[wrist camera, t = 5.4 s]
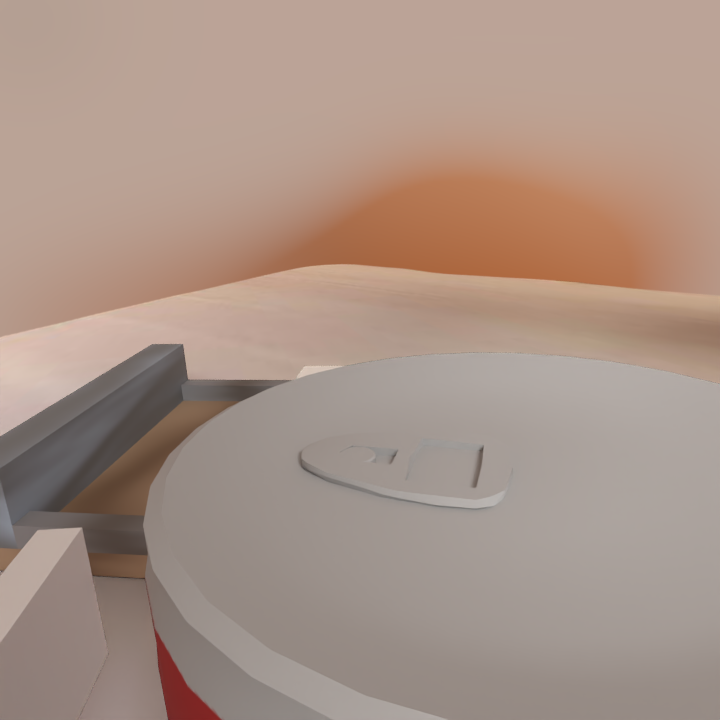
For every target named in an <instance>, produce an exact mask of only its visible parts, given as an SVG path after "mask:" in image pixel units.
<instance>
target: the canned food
mask: <svg viewBox="0 0 720 720" xmlns="http://www.w3.org/2000/svg"><path fill="white" fill-rule="evenodd" d="M143 528H144V534H145V539H146V545H147V551H148V556H147V564H146V571H145V581H146V587H147V592H148V598H149V603H150V609H151V614H152V620H153V626H154V631H155V637H156V642H157V654H158V667H159V673H160V678H161V683H162V689H163V694H164V699H165V705H166V710H167V715H168V720H720V384H718V383H714V382H710V381H706V380H702V379H697V378H693V377H689V376H685V375H681V374H676V373H672V372H668V371H663V370H658V369H652V368H646V367H641V366H635V365H629V364H623V363H618V362H611V361H603V360H594V359H586V358H577V357H569V356H556V355H541V354H526V353H475V352H473V353H450V354H428V355H418V356H409V357H399V358H389V359H383V360H377V361H371V362H365V363H359V364H353V365H347V366H343V367H339V368H335V369H330V370H326V371H322V372H318V373H314V374H310V375H307V376H304V377H301V378H298V379H295V380H292V381H289V382H286V383H283V384H280V385H277V386H274V387H271V388H269V389H267V390H265V391H262V392H260V393H258V394H256V395H254V396H252V397H250V398H247V399H245V400H243V401H241V402H239V403H237V404H235V405H232V406H230V407H228V408H227V409H225V410H224V411H222V412H220V413H219V414H217V415H216V416H214V417H213V418H211V419H210V420H208V421H207V422H205V423H204V424H202V425H201V426H199V427H198V428H196V429H195V430H194V431H193V432H192V433H191V434H190V435H189V436H188V437H187V438H186V439H185V440H184V441H183V442H182V443H181V444H180V445H179V446H177V447H176V448H175V449H174V450H173V451H172V452H171V453H170V454H169V456H168V457H167V459H166V461H165V462H164V464H163V466H162V467H161V469H160V471H159V473H158V474H157V476H156V478H155V479H154V481H153V483H152V484H151V486H150V490H149V495H148V501H147V506H146V512H145V517H144V522H143Z"/></svg>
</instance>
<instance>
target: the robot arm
mask: <svg viewBox="0 0 720 720" xmlns="http://www.w3.org/2000/svg"><path fill="white" fill-rule="evenodd" d="M108 654H109V653H108V648H107V643H106V639H105V634H104V629H103V625H102V620H101V615H100V610H99V606H98V601H97V596H96V591H95V587H94V582H93V577H92V573H91V568H90V563H89V558H88V554H87V549H86V544H85V539H84V535H83V530H82V527H81V528H65V529H48V530H37V532H36V533H35V534H34V535H33V536H32V538H31V539H30V540H29V541H28V542H27V544H26V545H25V546H24V547H23V549H22V550H21V551H20V552H19V553H18V555H17V556H16V557H15V558H14V559H13V561H12V562H11V563H10V564H9V565H8V567H7V568H6V569H5V570H4V572H3V573H2V574H1V575H0V720H78V718H79V716H80V714H81V712H82V710H83V708H84V706H85V703H86V701H87V699H88V697H89V695H90V693H91V691H92V688H93V686H94V684H95V682H96V680H97V678H98V675H99V673H100V671H101V669H102V667H103V665H104V663H105V660H106V658H107V656H108Z"/></svg>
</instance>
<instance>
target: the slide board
mask: <svg viewBox="0 0 720 720" xmlns="http://www.w3.org/2000/svg"><path fill="white" fill-rule="evenodd" d="M289 381H292V380H188V377H187V370H186V363H185V355H184V348H183V344H152V345H150V346H149V347H147V348H145V349H144V350H142V351H140V352H139V353H137V354H135V355H134V356H132V357H130V358H129V359H127V360H126V361H124V362H122V363H121V364H119V365H117V366H116V367H114V368H112V369H111V370H109V371H107V372H106V373H104V374H102V375H101V376H99V377H98V378H96V379H94V380H93V381H91V382H89V383H88V384H86V385H84V386H83V387H81V388H79V389H78V390H76V391H74V392H73V393H71V394H70V395H68V396H66V397H65V398H63V399H61V400H60V401H58V402H56V403H55V404H53V405H51V406H50V407H48V408H46V409H45V410H43V411H42V412H40V413H38V414H37V415H35V416H33V417H32V418H30V419H28V420H27V421H25V422H23V423H22V424H20V425H19V426H17V427H15V428H14V429H12V430H10V431H9V432H7V433H5V434H4V435H2V436H0V570H5V569H6V568H7V567H8V565H9V564H10V563H11V562H12V561H13V559H14V558H15V557H16V556H17V555H18V553H19V552H20V551H21V550H22V549H23V547H24V546H25V545H26V544H27V542H28V541H29V540H30V539H31V538H32V536H33V535H34V534H35V533H36V532H37V530H48V529H65V528H81V527H82V530H83V535H84V539H85V544H86V549H87V554H88V558H89V563H90V568H91V573H92V575H95V576H113V577H131V578H145V571H146V564H147V556H148V551H147V545H146V539H145V534H144V528H143V522H144V517H145V512H146V506H147V501H148V495H149V490H150V486H151V484H152V483H153V481H154V479H155V478H156V476H157V474H158V473H159V471H160V469H161V467H162V466H163V464H164V462H165V461H166V459H167V457H168V456H169V454H170V453H171V452H172V451H173V450H174V449H175V448H176V447H177V446H179V445H180V444H181V443H182V442H183V441H184V440H185V439H186V438H187V437H188V436H189V435H190V434H191V433H192V432H193V431H194V430H195V429H196V428H198V427H199V426H201V425H202V424H204V423H205V422H207V421H208V420H210V419H211V418H213V417H214V416H216V415H217V414H219V413H220V412H222V411H224V410H225V409H227V408H228V407H230V406H232V405H235V404H237V403H239V402H241V401H243V400H245V399H247V398H250V397H252V396H254V395H256V394H258V393H260V392H262V391H265V390H267V389H269V388H271V387H274V386H277V385H280V384H283V383H286V382H289Z"/></svg>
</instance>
